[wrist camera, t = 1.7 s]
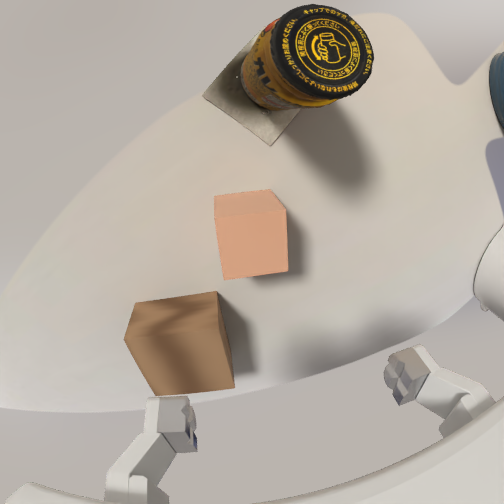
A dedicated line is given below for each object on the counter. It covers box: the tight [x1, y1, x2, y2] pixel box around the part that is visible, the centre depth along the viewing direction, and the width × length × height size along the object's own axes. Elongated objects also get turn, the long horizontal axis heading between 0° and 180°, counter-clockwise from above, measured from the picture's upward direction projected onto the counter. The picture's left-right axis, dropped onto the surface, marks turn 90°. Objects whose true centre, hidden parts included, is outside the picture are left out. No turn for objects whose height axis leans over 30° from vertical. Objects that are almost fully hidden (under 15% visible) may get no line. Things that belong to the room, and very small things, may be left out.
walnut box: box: [124, 291, 235, 396], centre depth 29 cm, size 9×9×6 cm
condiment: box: [202, 4, 374, 146], centre depth 16 cm, size 7×8×12 cm
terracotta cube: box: [214, 189, 288, 280], centre depth 24 cm, size 5×5×6 cm
